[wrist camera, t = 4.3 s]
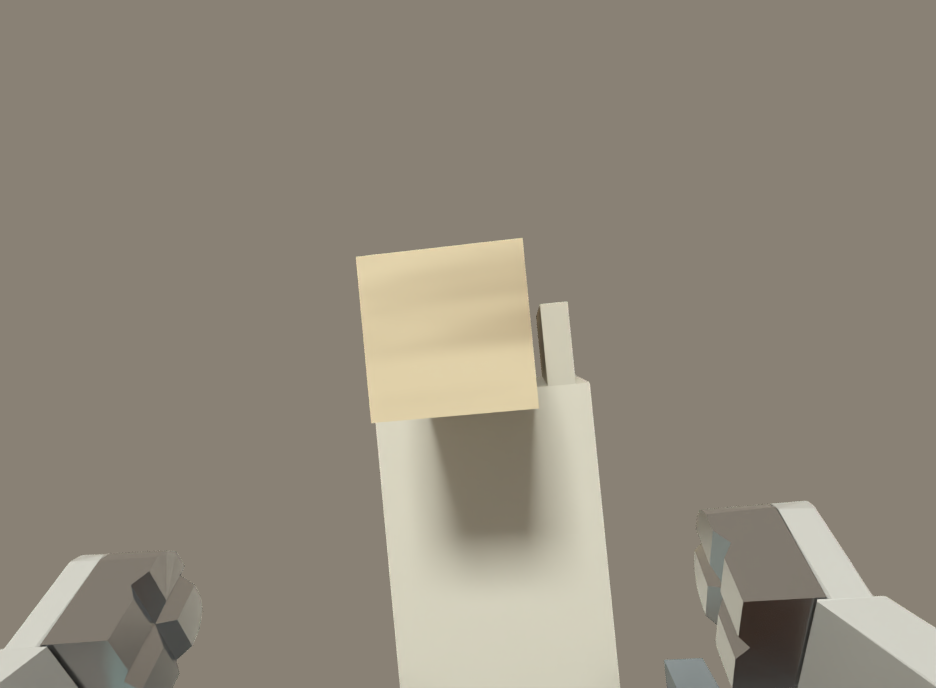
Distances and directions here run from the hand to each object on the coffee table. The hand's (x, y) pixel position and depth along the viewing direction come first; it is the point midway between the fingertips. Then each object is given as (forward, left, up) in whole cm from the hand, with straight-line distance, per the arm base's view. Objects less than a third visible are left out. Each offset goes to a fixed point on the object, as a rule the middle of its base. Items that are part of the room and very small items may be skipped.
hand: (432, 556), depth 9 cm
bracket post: (+6, -16, -24) cm, 30 cm away
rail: (+5, -14, +2) cm, 15 cm away
